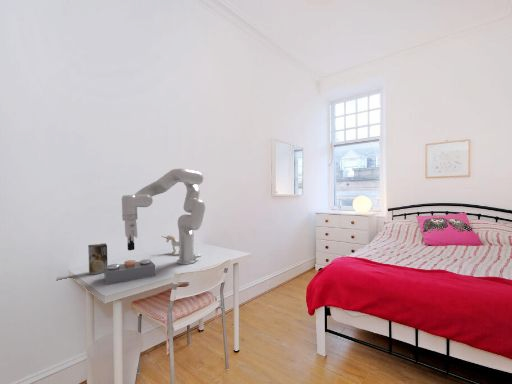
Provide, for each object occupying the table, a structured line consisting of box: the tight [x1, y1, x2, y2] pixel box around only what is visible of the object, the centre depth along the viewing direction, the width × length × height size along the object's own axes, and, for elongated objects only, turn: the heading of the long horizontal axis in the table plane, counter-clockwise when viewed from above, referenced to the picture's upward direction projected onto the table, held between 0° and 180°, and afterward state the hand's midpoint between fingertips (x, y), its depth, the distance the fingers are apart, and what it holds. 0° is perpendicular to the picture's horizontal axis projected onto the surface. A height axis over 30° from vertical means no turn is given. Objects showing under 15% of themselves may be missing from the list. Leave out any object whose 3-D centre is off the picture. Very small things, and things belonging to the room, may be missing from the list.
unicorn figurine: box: [161, 234, 179, 254], centre depth 195 cm, size 7×20×13 cm, turn 87°
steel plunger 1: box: [108, 263, 120, 270], centre depth 141 cm, size 6×6×6 cm
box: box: [103, 260, 156, 285], centre depth 145 cm, size 24×12×6 cm, turn 125°
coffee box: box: [87, 242, 109, 276], centre depth 152 cm, size 9×6×16 cm
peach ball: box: [123, 259, 137, 268], centre depth 145 cm, size 6×6×6 cm
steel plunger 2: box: [139, 258, 152, 265], centre depth 150 cm, size 6×6×6 cm
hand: (131, 249), depth 145 cm, fingers closed
